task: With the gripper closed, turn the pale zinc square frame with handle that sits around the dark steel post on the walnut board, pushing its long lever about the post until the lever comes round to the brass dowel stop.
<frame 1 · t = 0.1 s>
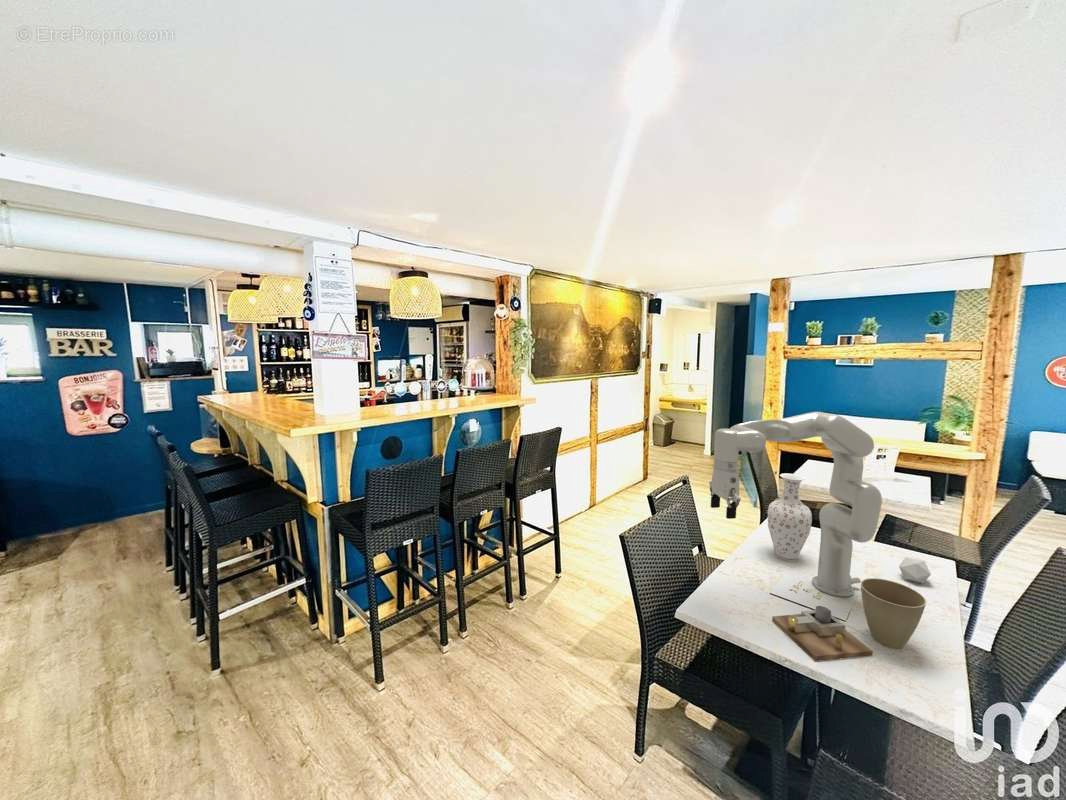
hand: (722, 512, 147), 31 cm above the table, fingers open, 9 cm apart
square frame with handle: (811, 622, 131), point 3 cm above the table, hinge at 0.0°
die: (913, 580, 161), on the table
vase: (786, 556, 180), on the table
board: (819, 637, 129), on the table
plant pot: (886, 641, 128), on the table
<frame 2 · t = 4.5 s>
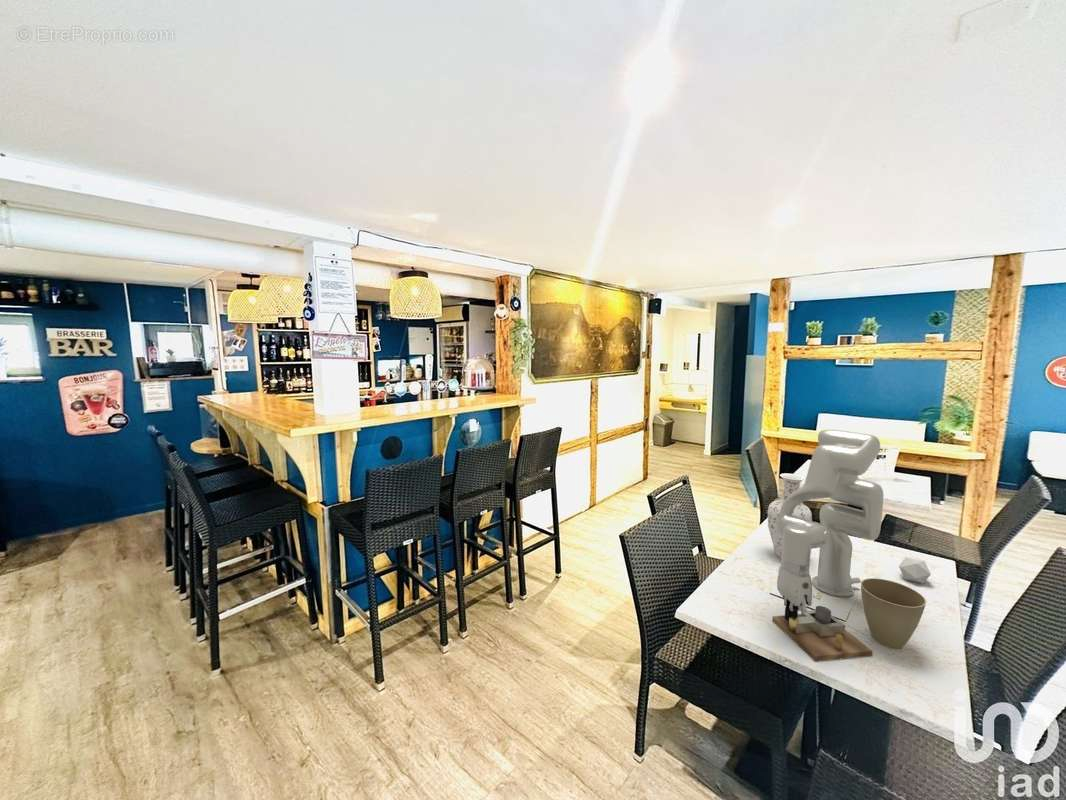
hand: (790, 619, 133), 3 cm above the table, fingers closed
square frame with handle: (812, 622, 131), point 3 cm above the table, hinge at 1.6°, touching gripper
everything else where it was.
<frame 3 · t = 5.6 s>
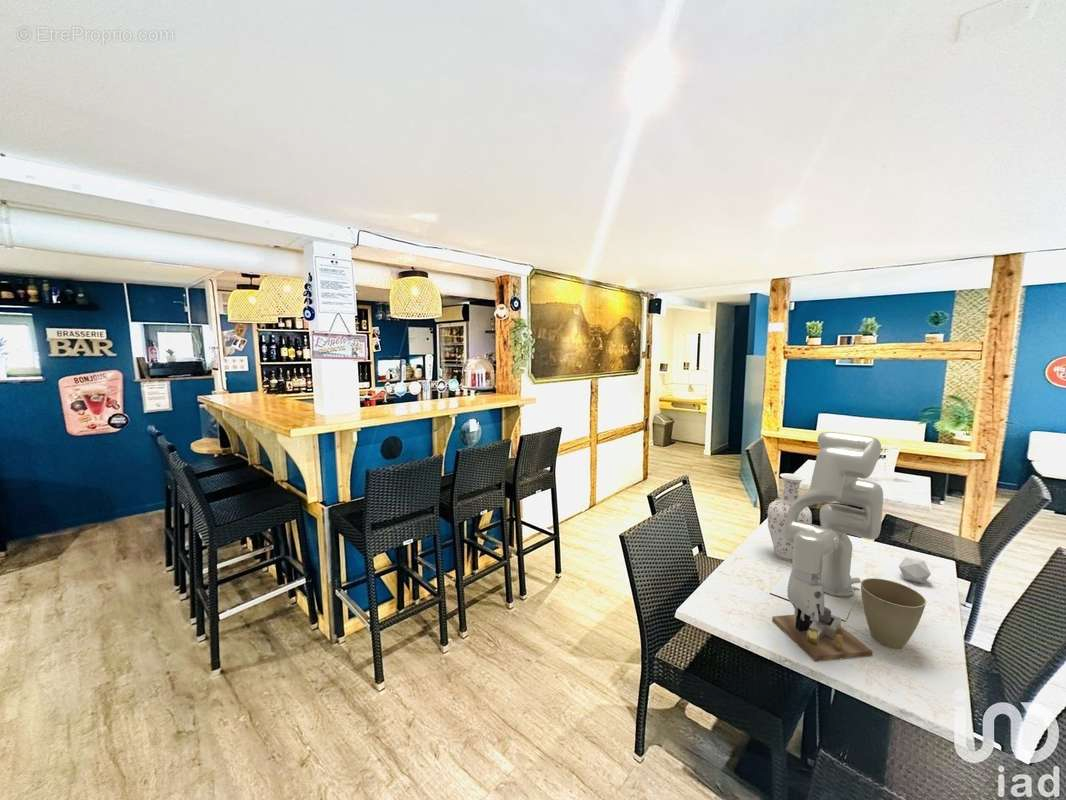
hand: (801, 629, 129), 2 cm above the table, fingers closed
square frame with handle: (819, 626, 129), point 3 cm above the table, hinge at 35.6°, touching gripper
everything else where it was.
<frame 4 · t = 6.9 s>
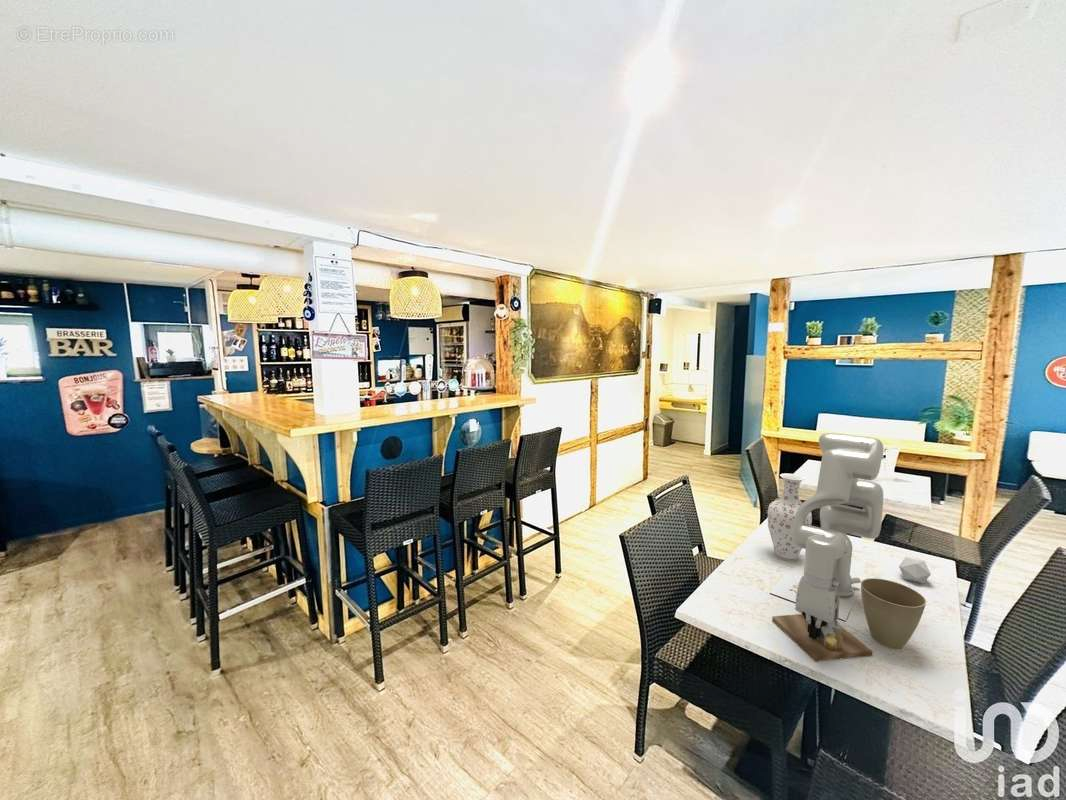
hand: (813, 636, 126), 2 cm above the table, fingers closed
square frame with handle: (825, 628, 128), point 3 cm above the table, hinge at 60.2°, touching board, gripper
everything else where it was.
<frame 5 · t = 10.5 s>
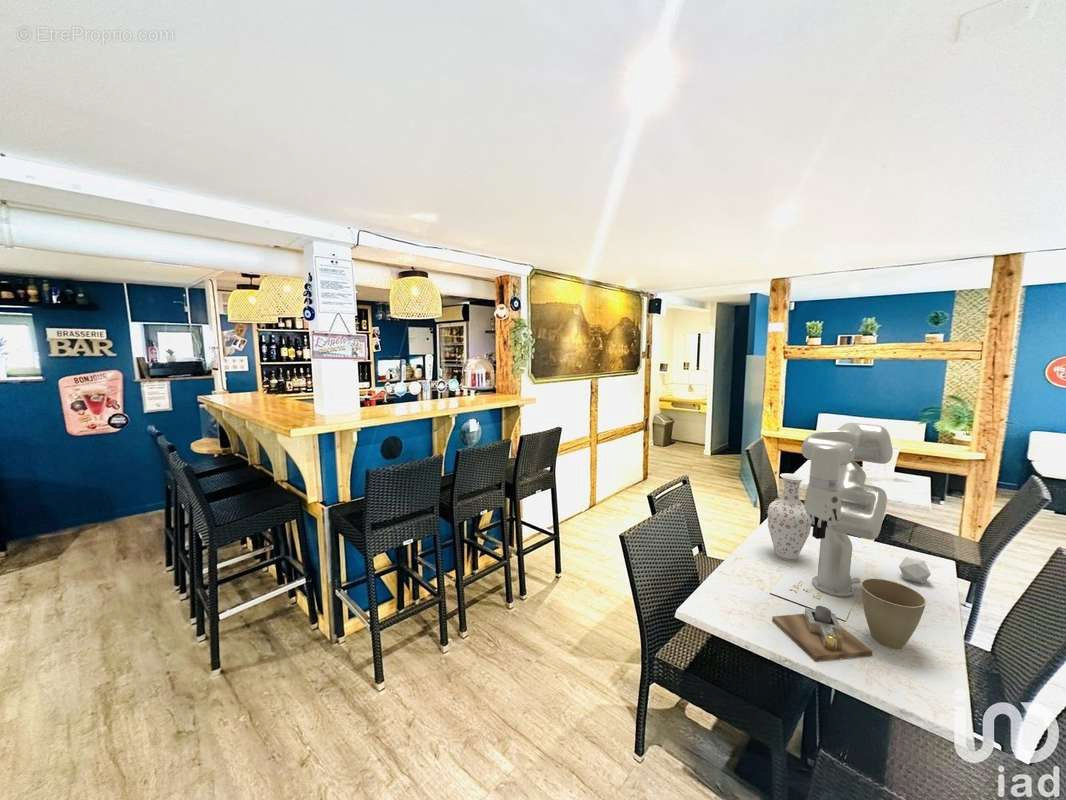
hand: (818, 537, 137), 27 cm above the table, fingers closed
square frame with handle: (825, 628, 128), point 3 cm above the table, hinge at 60.2°, touching board
everything else where it was.
at the end: square frame with handle at +60° (first picture: +0°); the gripper is holding nothing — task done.
